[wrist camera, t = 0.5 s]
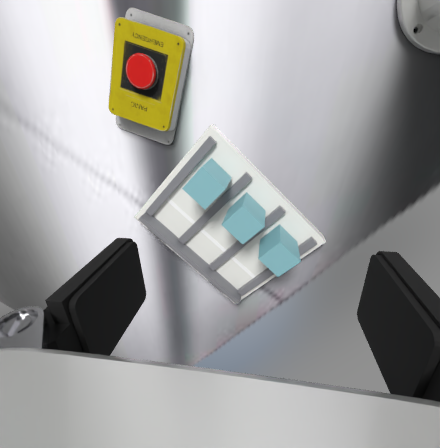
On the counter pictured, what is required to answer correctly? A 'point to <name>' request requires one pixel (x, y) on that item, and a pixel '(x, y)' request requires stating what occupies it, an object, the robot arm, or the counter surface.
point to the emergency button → (149, 74)
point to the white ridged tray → (214, 215)
